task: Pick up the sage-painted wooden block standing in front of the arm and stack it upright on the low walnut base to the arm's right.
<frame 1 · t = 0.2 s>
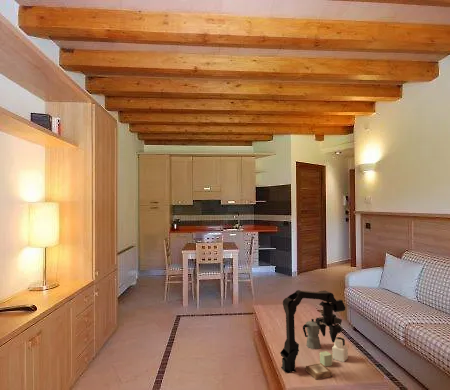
hand: (328, 339, 188), 14 cm above the table, fingers open, 9 cm apart
medicine bottle: (340, 358, 192), on the table
sage block: (326, 363, 186), on the table
walnut base: (318, 373, 175), on the table
coffeepot: (312, 346, 209), on the table
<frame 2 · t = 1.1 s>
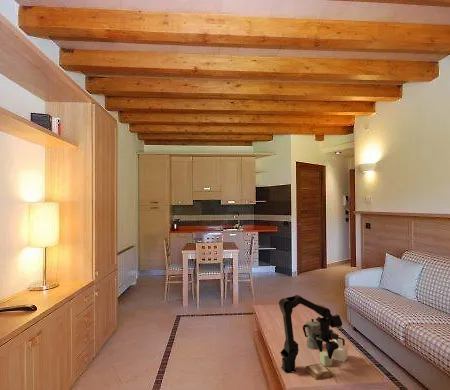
hand: (325, 355, 186), 5 cm above the table, fingers open, 9 cm apart
nothing on the table moved.
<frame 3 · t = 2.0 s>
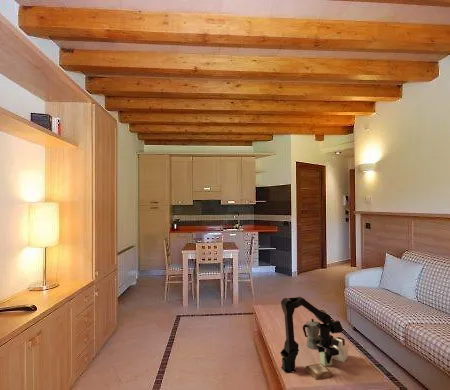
hand: (325, 361, 186), 2 cm above the table, fingers closed on sage block, 5 cm apart
sage block: (326, 363, 186), on the table, touching gripper
everything else where it was.
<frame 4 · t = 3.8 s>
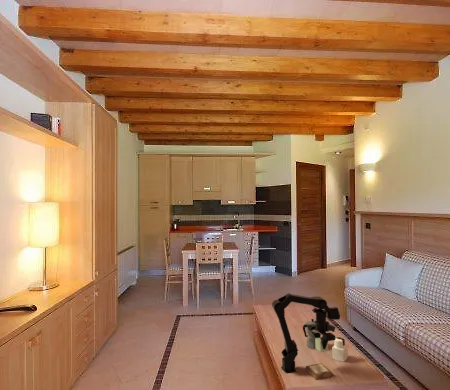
hand: (321, 347, 182), 12 cm above the table, fingers closed on sage block, 5 cm apart
sage block: (321, 349, 182), point 10 cm above the table, touching gripper
everything else where it was.
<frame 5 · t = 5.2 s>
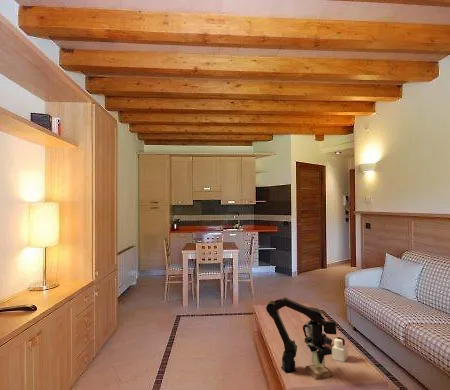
hand: (318, 361, 176), 7 cm above the table, fingers closed on sage block, 5 cm apart
sage block: (318, 363, 176), point 5 cm above the table, touching gripper
everything else where it was.
when the fingers open (5 cm above the table, at t = 5.9 s): sage block stays where it is, resting on walnut base.
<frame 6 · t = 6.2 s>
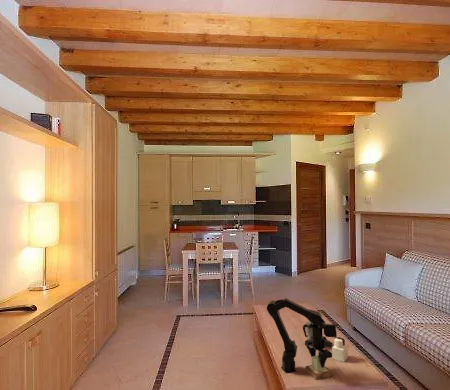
hand: (318, 364, 176), 5 cm above the table, fingers open, 8 cm apart
sage block: (318, 368, 175), point 3 cm above the table, touching walnut base
everything else where it was.
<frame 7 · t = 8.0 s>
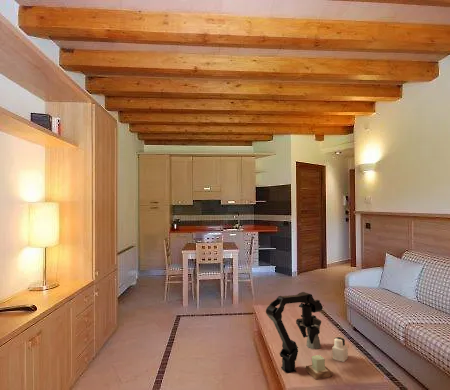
hand: (307, 340, 188), 13 cm above the table, fingers open, 9 cm apart
nothing on the table moved.
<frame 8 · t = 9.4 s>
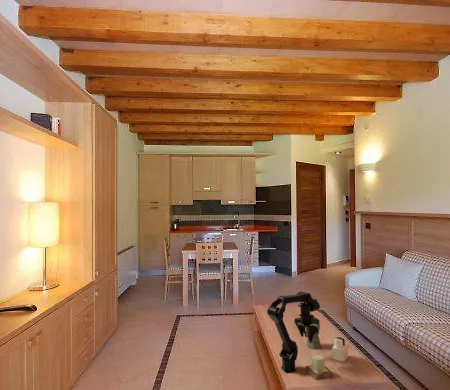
hand: (306, 339, 190), 13 cm above the table, fingers open, 9 cm apart
nothing on the table moved.
at the end: sage block inside the target area on the walnut base (0.0 cm from its centre), point 2.6 cm above the walnut base's base; sage block tilted 0°; the gripper is holding nothing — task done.
